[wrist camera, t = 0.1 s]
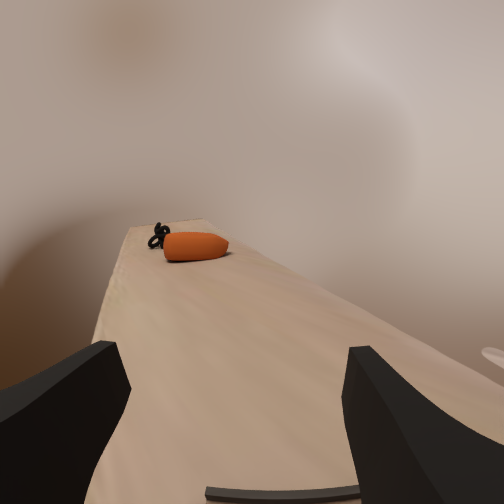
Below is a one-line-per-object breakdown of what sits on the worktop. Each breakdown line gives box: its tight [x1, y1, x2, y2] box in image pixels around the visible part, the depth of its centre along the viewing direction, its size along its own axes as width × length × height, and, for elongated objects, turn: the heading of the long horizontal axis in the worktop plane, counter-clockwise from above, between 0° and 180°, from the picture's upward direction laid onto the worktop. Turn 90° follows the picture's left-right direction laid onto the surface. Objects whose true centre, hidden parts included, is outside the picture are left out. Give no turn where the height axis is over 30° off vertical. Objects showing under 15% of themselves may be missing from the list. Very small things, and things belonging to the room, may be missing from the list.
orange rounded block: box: [163, 232, 229, 261], centre depth 113 cm, size 12×11×25 cm
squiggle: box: [148, 222, 170, 249], centre depth 136 cm, size 11×10×15 cm
